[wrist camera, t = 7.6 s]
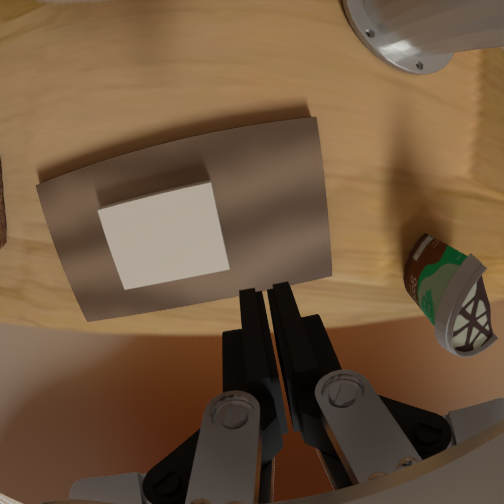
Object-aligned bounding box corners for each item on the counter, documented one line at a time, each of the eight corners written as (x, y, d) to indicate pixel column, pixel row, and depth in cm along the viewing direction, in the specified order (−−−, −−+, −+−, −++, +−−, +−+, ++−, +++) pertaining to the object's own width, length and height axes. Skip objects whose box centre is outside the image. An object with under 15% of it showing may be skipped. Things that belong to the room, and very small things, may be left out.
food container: (376, 259, 29) (432, 314, 20) (420, 222, 28) (485, 263, 19) (414, 326, 33) (457, 379, 24) (450, 295, 32) (498, 341, 23)
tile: (211, 178, 23) (104, 205, 23) (210, 182, 21) (97, 210, 21) (228, 261, 26) (129, 280, 25) (229, 269, 24) (124, 289, 24)
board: (42, 182, 22) (35, 185, 21) (311, 117, 23) (316, 116, 22) (91, 315, 28) (87, 321, 27) (327, 270, 28) (332, 275, 27)
